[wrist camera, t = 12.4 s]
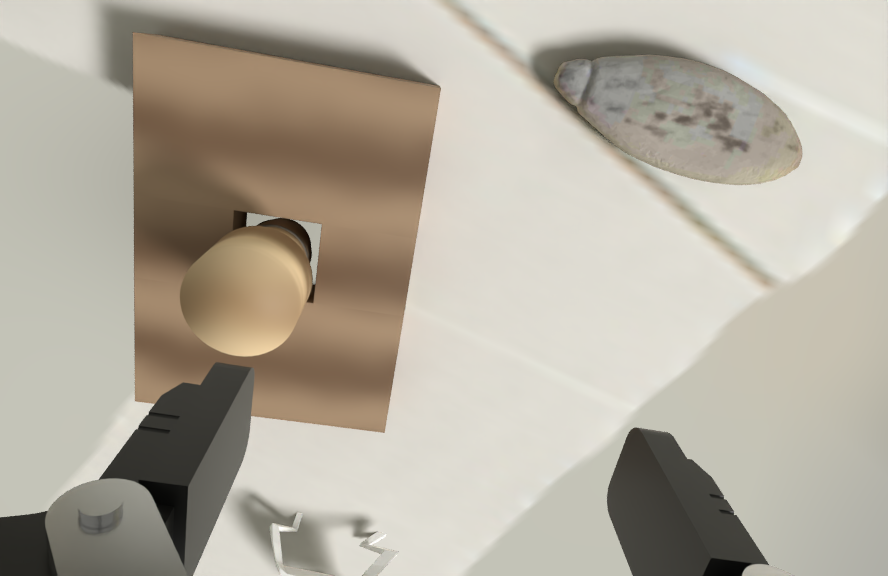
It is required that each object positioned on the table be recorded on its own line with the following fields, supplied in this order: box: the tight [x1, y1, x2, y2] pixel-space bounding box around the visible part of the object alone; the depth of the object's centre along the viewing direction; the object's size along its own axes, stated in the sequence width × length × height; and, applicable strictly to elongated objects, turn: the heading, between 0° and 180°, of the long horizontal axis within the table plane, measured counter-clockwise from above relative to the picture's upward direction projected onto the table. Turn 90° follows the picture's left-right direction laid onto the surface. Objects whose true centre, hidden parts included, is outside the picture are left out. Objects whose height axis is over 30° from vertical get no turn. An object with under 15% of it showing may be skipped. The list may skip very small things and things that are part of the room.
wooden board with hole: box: [133, 32, 441, 433], centre depth 37 cm, size 22×16×3 cm
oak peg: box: [180, 218, 313, 357], centre depth 34 cm, size 6×6×10 cm
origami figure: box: [269, 512, 398, 576], centre depth 45 cm, size 12×8×5 cm
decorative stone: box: [554, 55, 802, 185], centre depth 35 cm, size 6×16×3 cm, turn 73°
